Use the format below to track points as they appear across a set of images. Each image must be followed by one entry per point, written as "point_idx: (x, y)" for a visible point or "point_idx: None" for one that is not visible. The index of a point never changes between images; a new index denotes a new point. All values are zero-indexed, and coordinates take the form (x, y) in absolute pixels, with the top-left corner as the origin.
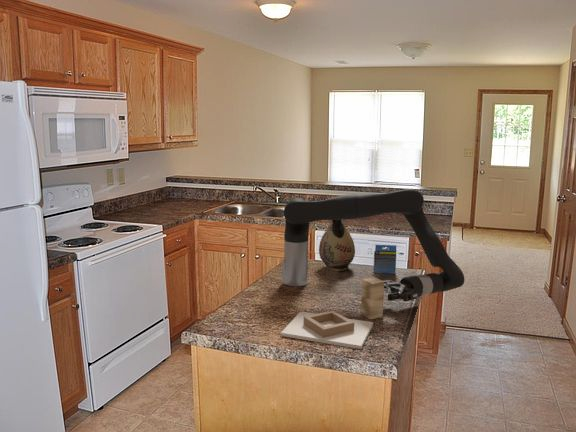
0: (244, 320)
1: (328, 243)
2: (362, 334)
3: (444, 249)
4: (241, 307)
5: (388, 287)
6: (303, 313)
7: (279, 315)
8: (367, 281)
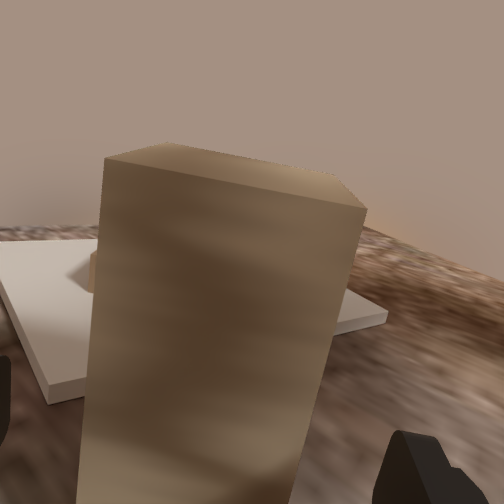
0: (381, 259)
1: None
2: (27, 283)
3: None
4: (487, 289)
5: None
6: (363, 306)
7: (394, 296)
8: (248, 158)
